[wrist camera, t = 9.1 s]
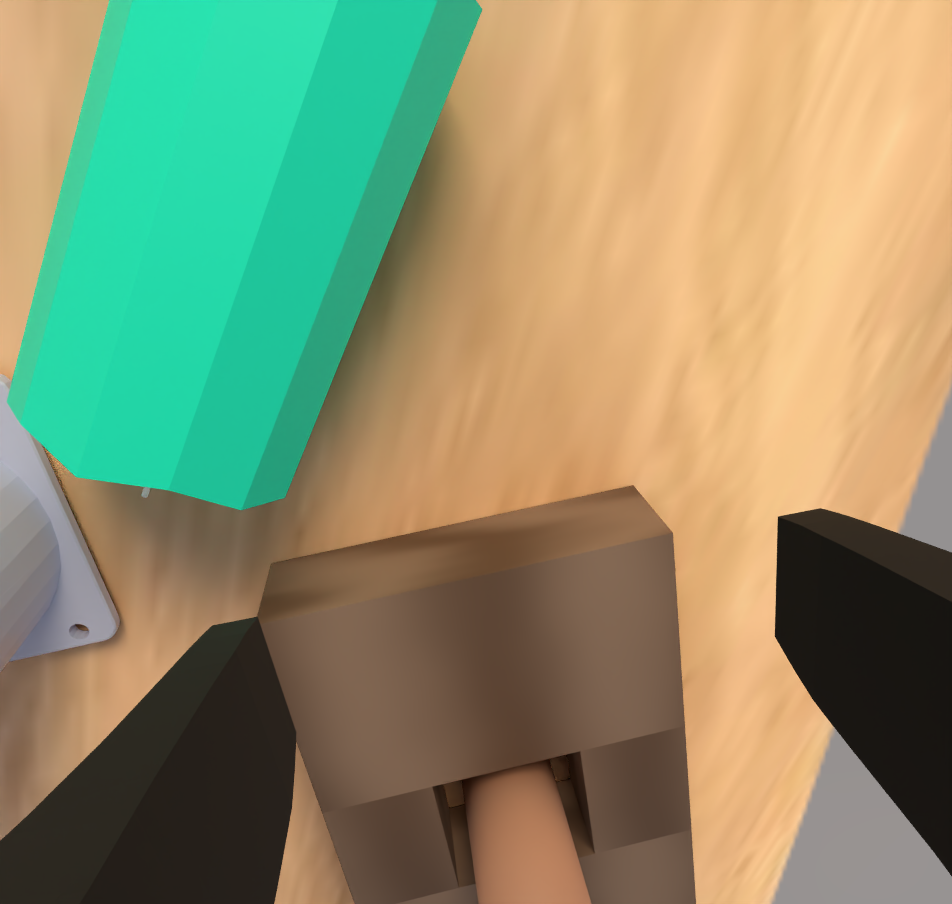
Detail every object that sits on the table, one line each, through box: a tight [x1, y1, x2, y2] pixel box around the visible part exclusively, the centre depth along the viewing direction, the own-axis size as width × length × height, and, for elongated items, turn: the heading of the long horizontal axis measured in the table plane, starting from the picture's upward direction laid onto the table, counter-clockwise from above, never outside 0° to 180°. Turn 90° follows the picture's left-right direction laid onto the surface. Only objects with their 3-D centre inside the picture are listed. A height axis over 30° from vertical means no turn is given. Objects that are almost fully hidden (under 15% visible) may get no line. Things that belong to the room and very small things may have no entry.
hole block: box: [257, 486, 696, 904], centre depth 23 cm, size 11×18×3 cm, turn 10°
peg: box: [462, 759, 591, 904], centre depth 20 cm, size 3×3×10 cm
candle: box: [7, 0, 482, 510], centre depth 14 cm, size 6×6×12 cm
